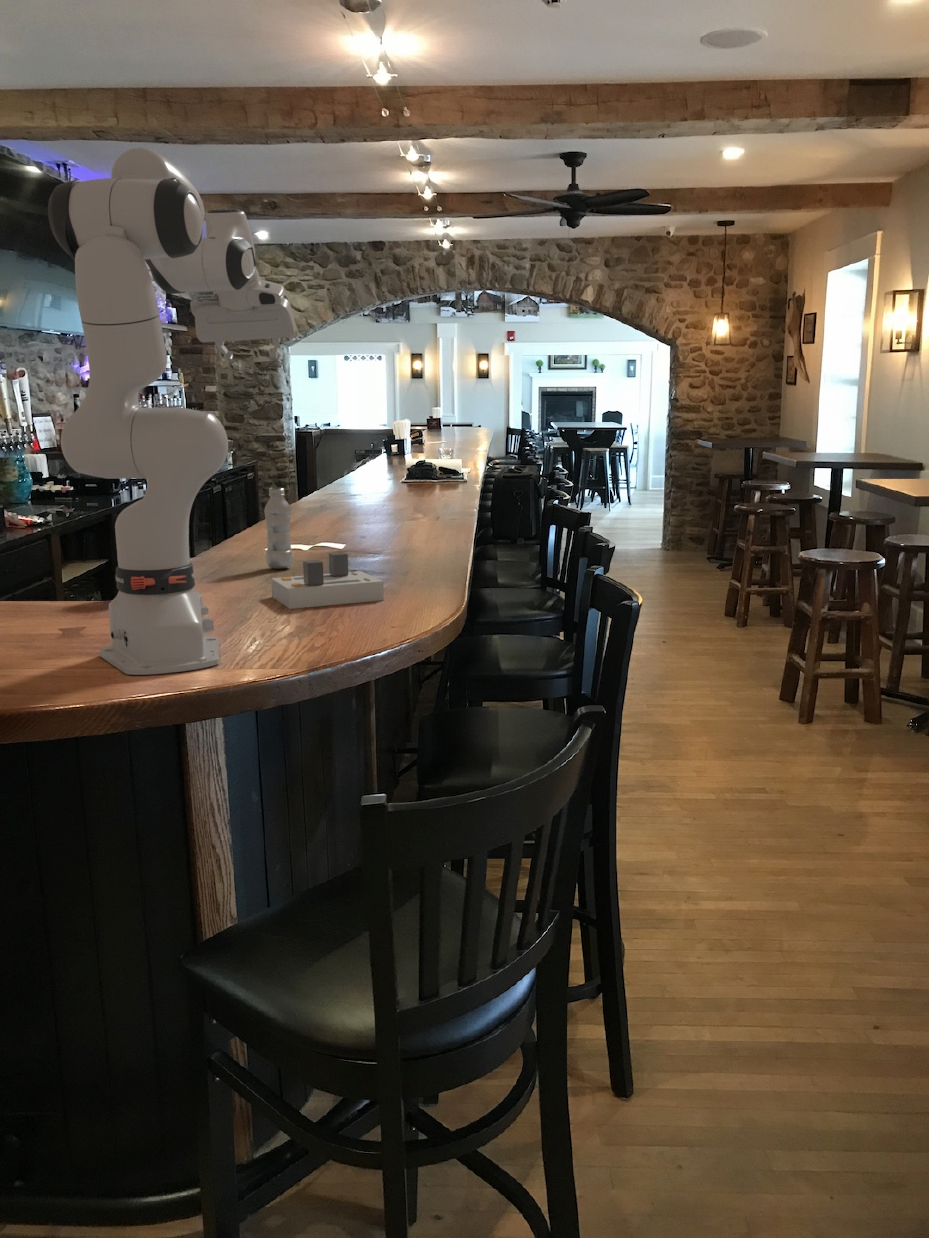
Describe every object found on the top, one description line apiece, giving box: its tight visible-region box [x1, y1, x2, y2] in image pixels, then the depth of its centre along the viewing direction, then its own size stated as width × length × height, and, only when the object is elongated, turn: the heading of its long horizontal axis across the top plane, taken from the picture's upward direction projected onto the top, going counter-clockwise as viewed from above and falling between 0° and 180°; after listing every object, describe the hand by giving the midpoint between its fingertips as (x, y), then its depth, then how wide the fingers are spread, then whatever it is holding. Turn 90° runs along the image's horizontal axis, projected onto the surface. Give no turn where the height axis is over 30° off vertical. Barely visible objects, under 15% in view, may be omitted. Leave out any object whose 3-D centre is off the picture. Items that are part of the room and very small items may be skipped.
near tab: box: [302, 559, 324, 585], centre depth 190 cm, size 3×3×4 cm
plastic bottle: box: [263, 487, 294, 570], centre depth 231 cm, size 6×7×20 cm
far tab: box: [328, 551, 349, 576], centre depth 200 cm, size 3×3×4 cm
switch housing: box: [270, 570, 385, 610], centre depth 196 cm, size 14×20×4 cm
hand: (251, 359), depth 196 cm, fingers open, 8 cm apart
